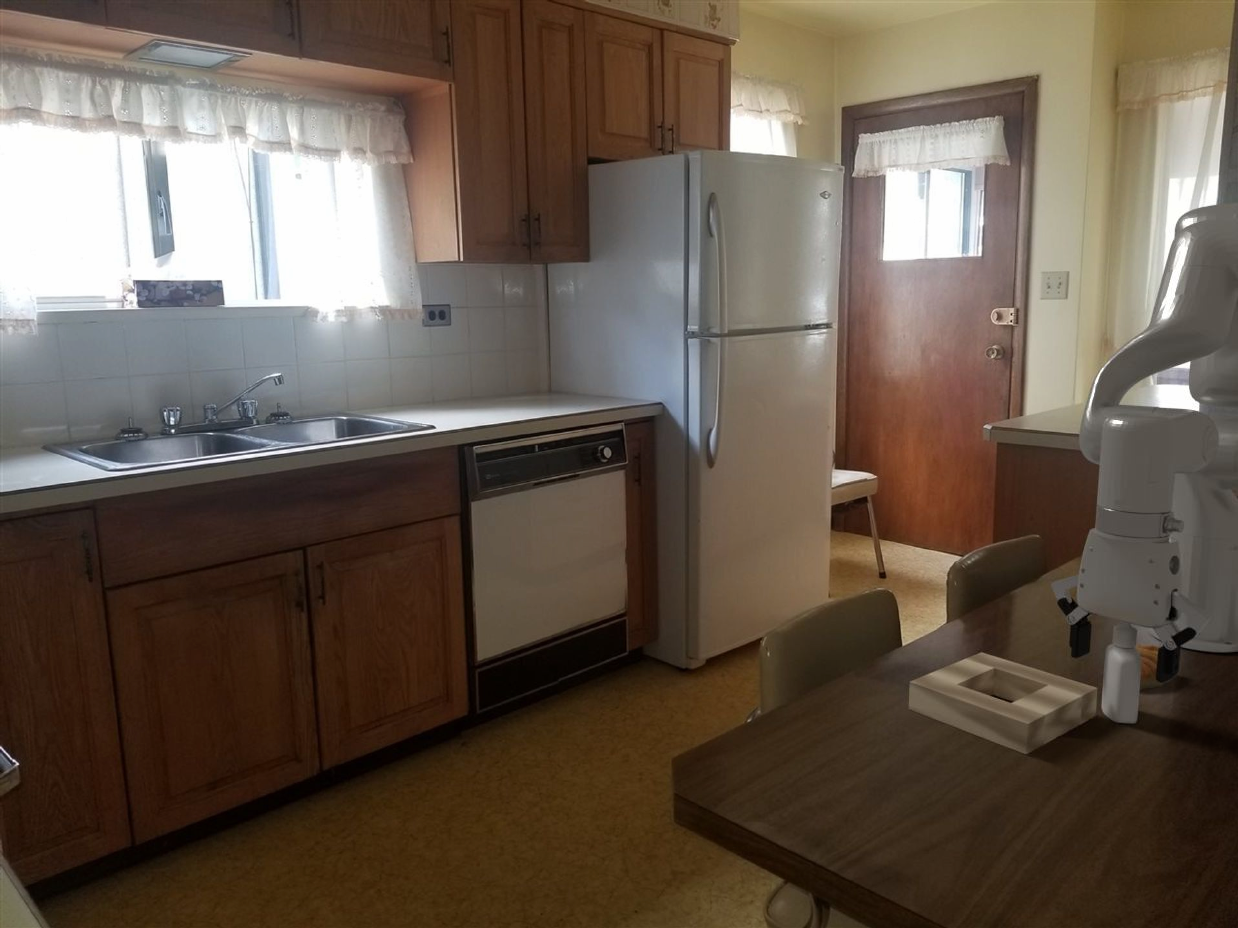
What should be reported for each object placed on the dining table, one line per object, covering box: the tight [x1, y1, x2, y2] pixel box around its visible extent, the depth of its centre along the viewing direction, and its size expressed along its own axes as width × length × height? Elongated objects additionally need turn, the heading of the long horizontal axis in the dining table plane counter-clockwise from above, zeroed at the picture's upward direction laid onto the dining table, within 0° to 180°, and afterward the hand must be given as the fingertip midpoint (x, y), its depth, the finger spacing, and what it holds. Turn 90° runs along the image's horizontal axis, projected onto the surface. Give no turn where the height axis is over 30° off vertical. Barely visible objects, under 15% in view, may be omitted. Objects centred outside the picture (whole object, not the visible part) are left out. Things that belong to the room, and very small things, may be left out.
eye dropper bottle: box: [1101, 621, 1141, 725], centre depth 111 cm, size 4×6×12 cm
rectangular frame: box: [908, 652, 1098, 755], centre depth 113 cm, size 15×15×4 cm
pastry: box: [1135, 644, 1177, 691], centre depth 122 cm, size 9×7×4 cm
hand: (1121, 666), depth 111 cm, fingers open, 9 cm apart
